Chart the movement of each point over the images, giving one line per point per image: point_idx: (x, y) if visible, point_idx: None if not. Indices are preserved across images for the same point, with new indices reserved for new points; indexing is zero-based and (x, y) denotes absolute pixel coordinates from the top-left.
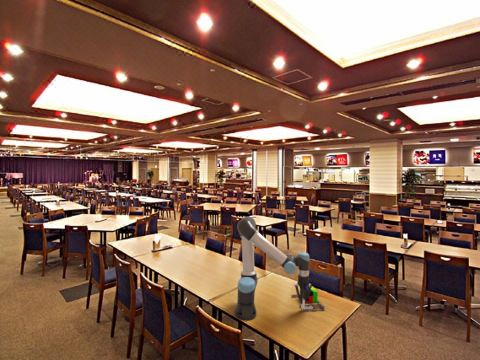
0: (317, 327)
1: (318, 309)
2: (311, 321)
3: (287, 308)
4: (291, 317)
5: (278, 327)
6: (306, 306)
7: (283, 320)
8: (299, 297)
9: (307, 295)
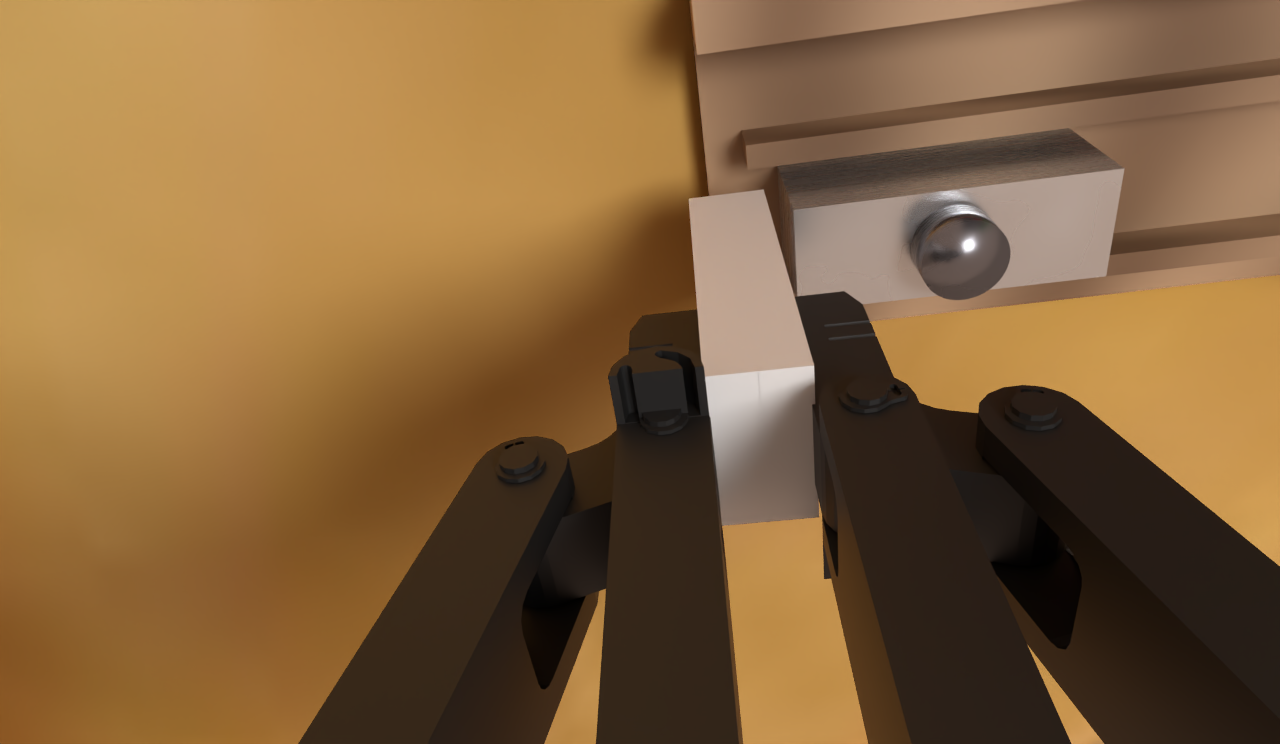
0: (807, 741)
1: (1258, 256)
2: (775, 606)
3: (244, 32)
4: (355, 487)
5: (108, 741)
6: (887, 237)
7: (175, 582)
8: (547, 628)
9: (1038, 654)
